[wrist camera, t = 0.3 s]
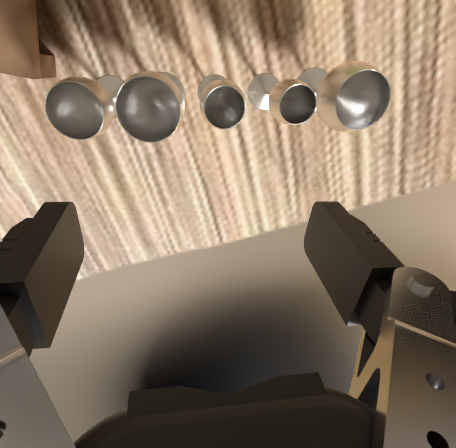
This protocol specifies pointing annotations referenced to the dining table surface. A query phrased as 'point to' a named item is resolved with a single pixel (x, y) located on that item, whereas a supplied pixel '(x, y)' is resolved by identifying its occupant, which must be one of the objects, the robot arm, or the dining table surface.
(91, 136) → the goblet set
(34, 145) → the dining table surface
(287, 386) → the robot arm
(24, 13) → the walnut shelf
